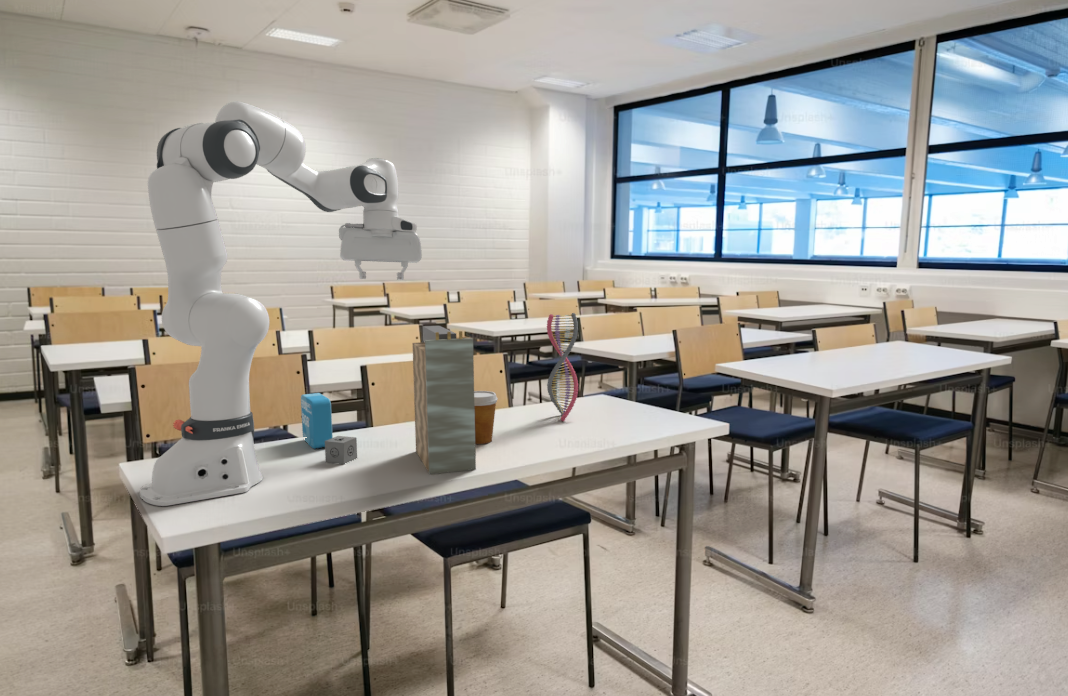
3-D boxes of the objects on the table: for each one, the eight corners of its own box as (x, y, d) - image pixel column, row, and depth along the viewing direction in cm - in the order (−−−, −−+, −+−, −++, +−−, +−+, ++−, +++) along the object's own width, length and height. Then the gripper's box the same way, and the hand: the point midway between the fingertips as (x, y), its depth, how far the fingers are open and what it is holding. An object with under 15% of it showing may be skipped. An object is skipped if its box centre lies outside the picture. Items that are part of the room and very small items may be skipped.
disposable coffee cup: (499, 436, 179) (499, 390, 178) (496, 446, 170) (495, 397, 169) (463, 436, 180) (461, 390, 178) (457, 446, 170) (456, 397, 169)
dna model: (546, 421, 195) (546, 314, 192) (547, 414, 204) (546, 312, 200) (578, 421, 195) (578, 314, 191) (578, 414, 204) (577, 312, 200)
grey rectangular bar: (423, 340, 167) (422, 326, 166) (439, 340, 168) (439, 325, 167) (438, 350, 148) (437, 334, 147) (456, 349, 149) (456, 333, 148)
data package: (302, 439, 178) (300, 393, 177) (320, 437, 180) (318, 391, 179) (314, 450, 168) (312, 401, 166) (333, 447, 170) (331, 399, 169)
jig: (415, 451, 166) (411, 325, 162) (457, 447, 169) (454, 323, 165) (429, 474, 148) (425, 333, 144) (475, 469, 151) (472, 331, 147)
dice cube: (325, 462, 158) (324, 441, 157) (338, 456, 162) (338, 435, 162) (344, 464, 156) (343, 442, 155) (357, 458, 160) (356, 437, 160)
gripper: (339, 220, 171) (340, 277, 171) (422, 224, 178) (423, 279, 178) (337, 224, 177) (338, 279, 177) (418, 228, 184) (418, 281, 184)
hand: (381, 279), depth 177 cm, fingers open, 8 cm apart
